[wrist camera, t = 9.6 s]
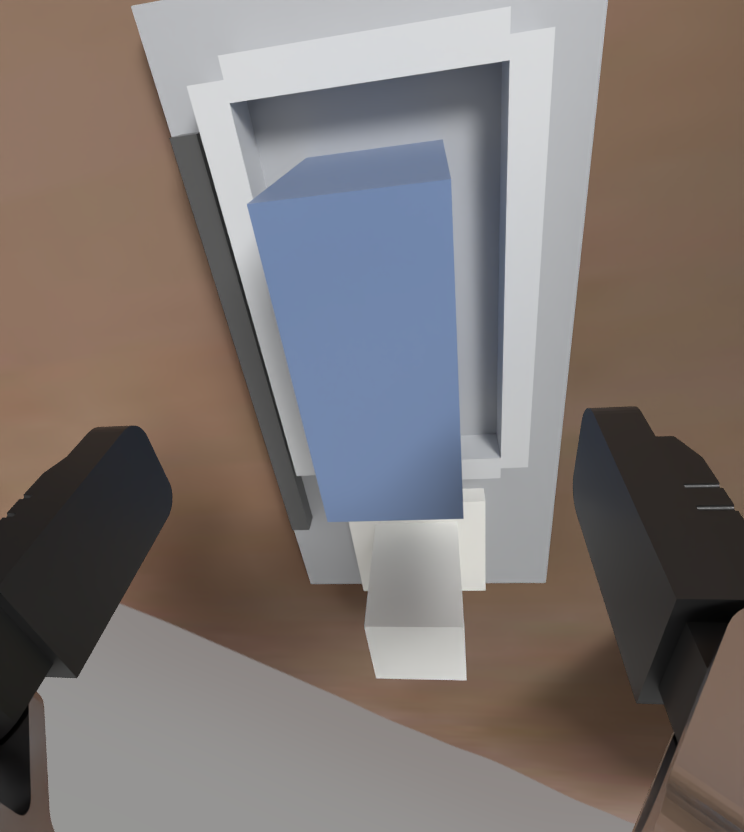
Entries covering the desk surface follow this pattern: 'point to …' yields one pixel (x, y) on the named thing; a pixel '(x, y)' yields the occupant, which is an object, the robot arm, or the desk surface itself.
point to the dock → (473, 253)
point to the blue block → (370, 326)
